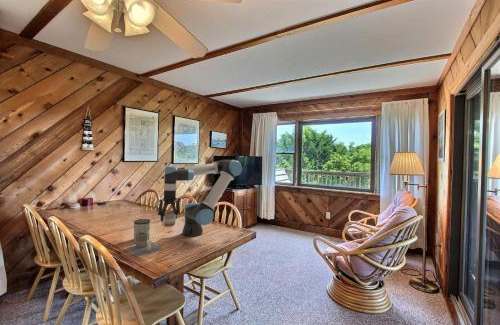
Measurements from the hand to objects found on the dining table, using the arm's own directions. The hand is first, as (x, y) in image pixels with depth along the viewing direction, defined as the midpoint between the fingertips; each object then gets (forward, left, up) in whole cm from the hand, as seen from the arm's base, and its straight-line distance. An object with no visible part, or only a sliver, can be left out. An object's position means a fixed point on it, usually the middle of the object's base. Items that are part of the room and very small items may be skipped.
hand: (168, 224), depth 168 cm
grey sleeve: (+15, -7, -12) cm, 20 cm away
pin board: (+15, -1, -14) cm, 20 cm away
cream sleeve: (0, 0, 0) cm, 0 cm away
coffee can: (+10, -19, -14) cm, 25 cm away
